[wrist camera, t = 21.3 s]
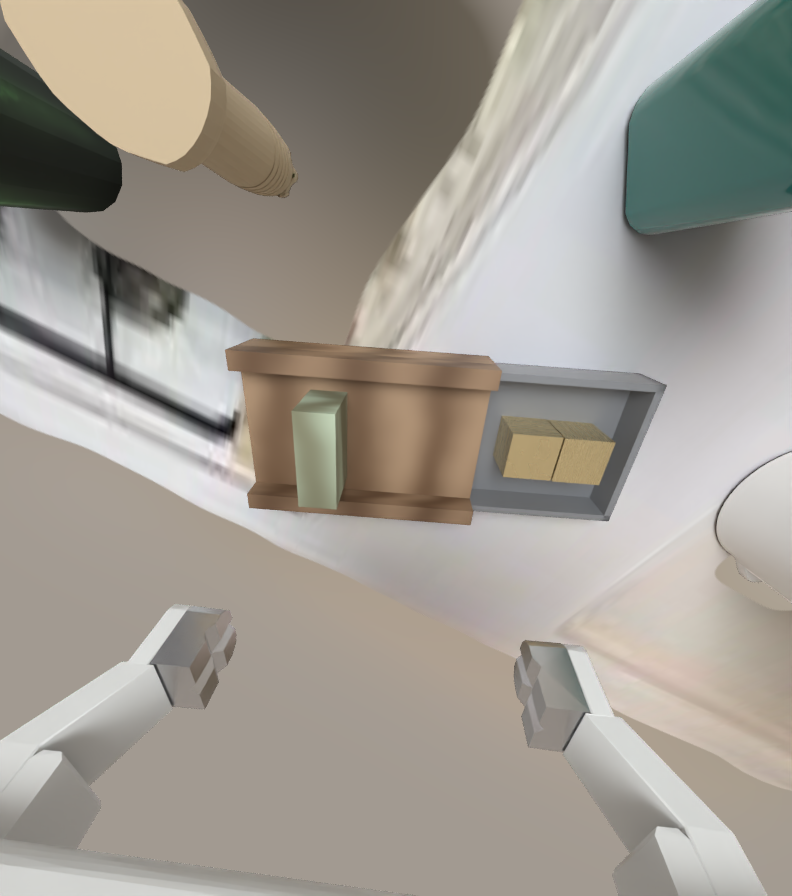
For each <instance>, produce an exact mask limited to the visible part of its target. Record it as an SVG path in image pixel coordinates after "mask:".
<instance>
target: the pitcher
mask: <svg viewBox="0 0 792 896" xmlns="http://www.w3.org/2000/svg"><path fill="white" fill-rule="evenodd" d="M787 212H792V0H757V1H755V2H754V3H753V4H752V5H750V6H749V7H748V8H747V9H745V10H744V11H743V12H742V13H740V14H739V15H738V16H737V17H735V18H734V19H733V20H731V21H730V22H729V23H728V24H726V25H725V26H724V27H723V28H721V29H720V30H719V31H718V32H716V33H715V34H714V35H713V36H711V37H710V38H709V39H708V40H706V41H705V42H704V43H702V44H701V45H700V46H699V47H697V48H696V49H695V50H694V51H692V52H691V53H690V54H689V55H687V56H686V57H685V58H684V59H682V60H681V61H680V62H679V63H677V64H676V65H675V66H674V67H672V68H671V69H670V70H668V71H667V72H666V73H665V74H663V75H662V76H661V77H660V78H658V79H657V80H656V81H655V82H653V83H652V84H651V85H650V86H648V87H647V89H646V90H645V92H644V93H643V94H642V96H641V97H640V99H639V100H638V102H637V103H636V105H635V108H634V110H633V113H632V116H631V119H630V122H629V137H628V161H627V185H626V209H625V214H626V217H627V220H628V222H629V225H630V226H631V227H632V228H634V229H635V230H636V231H637V232H638V233H641V234H646V235H655V234H661V233H667V232H673V231H679V230H685V229H691V228H697V227H703V226H709V225H715V224H721V223H727V222H733V221H739V220H745V219H751V218H757V217H763V216H769V215H775V214H781V213H787Z"/></svg>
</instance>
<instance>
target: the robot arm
mask: <svg viewBox="0 0 792 896" xmlns="http://www.w3.org/2000/svg"><path fill="white" fill-rule="evenodd" d="M716 529H717V536H718V540H719V542H720V544H721V545H722V547H723V548H724V549H725V550H726V551H727V552H729V553H730V554H731V555H732V556H733V557H734V558H735V559H736V564H737V569H738V572H739V574H741V575H742V576H743V577H744V578H746V579H747V580H748V581H750V582H764V583H765V584H767V585H768V586H769V587H771V588H772V589H773V590H774V591H776V592H777V593H779V594H780V595H781V596H782V597H784V598H785V599H786V600H788V601H789V602H790V603H792V452H790V453H787V454H785V455H783V456H781V457H778V458H776V459H774V460H773V461H771V462H769V463H767V464H766V465H764V466H762V467H761V468H759V469H758V470H756V471H755V472H754V473H752V474H751V475H750V476H748V477H747V478H746V479H745V480H744V481H743V482H742V483H741V484H739V485H738V486H737V488H736V489H735V490H734V491H733V492H732V493H731V494H730V496H729V497H728V499H727V500H726V502H725V503H724V505H723V507H722V509H721V511H720V513H719V516H718V520H717V527H716ZM231 620H232V615H231V612H230V610H222V609H214V608H205V607H196V606H190V605H189V606H188V605H179V604H175V605H173V606H172V607H171V608H169V609H168V610H167V612H166V613H165V614H164V615H163V617H162V618H161V619H160V621H159V622H158V624H157V625H156V626H155V627H154V628H153V630H152V631H151V632H150V634H149V635H148V636H147V637H146V639H145V640H144V641H143V643H142V644H141V645H140V647H139V648H138V649H137V650H136V652H135V653H134V654H133V656H132V657H131V658H130V660H129V661H128V662H123V661H122V662H121V663H119V664H118V665H116V666H114V667H113V668H111V669H110V670H109V671H107V672H105V673H104V674H102V675H101V676H99V677H97V678H96V679H94V680H93V681H92V682H90V683H88V684H87V685H85V686H84V687H82V688H81V689H79V690H77V691H76V692H74V693H73V694H71V695H70V696H68V697H67V698H65V699H64V700H62V701H60V702H59V703H57V704H56V705H54V706H53V707H51V708H50V709H48V710H47V711H45V712H43V713H42V714H40V715H39V716H37V717H36V718H34V719H33V720H31V721H30V722H28V723H27V724H25V725H23V726H22V727H20V728H19V729H17V730H16V731H14V732H13V733H11V734H9V735H8V736H7V737H5V738H3V739H2V740H0V896H416V895H408V894H401V893H394V892H387V891H379V890H372V889H365V888H358V887H350V886H343V885H336V884H328V883H321V882H313V881H307V880H299V879H292V878H284V877H277V876H270V875H263V874H256V873H248V872H241V871H234V870H227V869H219V868H212V867H205V866H197V865H190V864H182V863H176V862H168V861H161V860H154V859H146V858H139V857H131V856H124V855H117V854H110V853H102V852H96V851H88V850H81V849H77V847H78V846H79V844H80V843H81V841H82V839H83V838H84V836H85V834H86V832H87V831H88V829H89V827H90V826H91V824H92V822H93V821H94V819H95V817H96V815H97V814H98V812H99V811H100V809H101V801H100V799H99V798H98V797H97V795H96V794H95V793H94V792H93V791H92V789H91V788H90V787H89V786H90V785H91V784H92V783H93V782H94V781H95V780H96V779H97V778H99V777H100V776H101V775H102V774H103V773H104V772H105V771H106V770H107V769H108V768H109V767H111V765H113V764H114V763H115V762H116V761H117V760H118V759H119V758H120V757H121V756H122V755H124V754H125V753H126V752H127V751H128V750H129V749H130V748H131V747H132V746H133V745H134V744H135V743H136V742H138V741H139V740H140V739H141V738H142V737H143V736H144V735H145V734H146V733H147V732H148V731H149V730H150V729H152V728H153V727H154V726H155V725H156V724H157V723H158V722H159V721H160V720H161V719H162V718H163V717H165V716H166V715H167V714H168V713H169V712H170V711H171V710H172V709H173V708H172V707H182V708H194V709H205V708H206V706H207V704H208V702H209V700H210V698H211V696H212V694H213V693H214V690H215V688H216V687H217V684H218V683H219V680H218V672H219V671H220V670H222V669H223V668H224V667H226V666H227V665H228V662H229V661H230V659H231V657H232V654H233V651H234V648H235V644H236V631H235V628H234V627H232V625H230V622H231ZM520 650H521V654H522V655H521V656H520V657H518V658H517V659H516V662H515V666H514V682H515V689H516V693H517V697H518V699H519V700H520V701H521V703H522V704H523V705H524V706H525V709H524V711H523V714H522V716H521V717H522V721H523V726H524V730H525V735H526V739H527V744H528V747H530V748H537V749H544V750H550V751H557V752H564V753H563V755H564V757H565V759H566V760H567V761H568V763H569V764H570V766H571V767H572V769H573V770H574V772H575V773H576V775H577V776H578V778H579V779H580V781H581V782H582V783H583V785H584V786H585V788H586V789H587V791H588V792H589V794H590V795H591V797H592V798H593V800H594V801H595V803H596V804H597V806H598V807H599V809H600V810H601V812H602V813H603V814H604V816H605V817H606V819H607V820H608V822H609V823H610V825H611V826H612V828H613V829H614V831H615V832H616V834H617V835H618V837H619V838H620V840H621V841H622V842H623V844H624V845H625V847H626V848H627V850H628V851H629V853H630V854H629V855H628V856H627V857H626V858H625V859H624V860H623V861H622V862H621V863H620V864H619V865H618V866H617V867H616V868H615V870H614V873H613V875H612V876H613V879H614V883H615V886H616V889H617V893H618V896H768V895H767V894H766V892H765V890H764V888H763V886H762V885H761V883H760V881H759V879H758V877H757V875H756V873H755V872H754V870H753V868H752V866H751V864H750V863H749V861H748V859H747V857H746V855H745V853H744V852H743V850H742V848H741V846H740V844H739V843H738V841H737V839H736V837H735V835H734V834H733V833H732V832H731V831H730V829H728V827H727V826H726V825H725V824H724V823H723V822H722V821H721V820H720V819H719V818H718V817H717V816H716V815H715V814H714V813H713V812H712V811H711V810H710V809H709V808H708V807H707V806H706V805H705V804H704V803H703V802H702V801H701V799H700V798H699V797H698V796H697V795H696V794H695V793H694V792H693V791H692V790H691V789H690V788H689V787H688V786H687V785H686V784H685V783H684V782H683V781H682V780H681V779H680V778H679V777H678V776H677V775H676V774H675V773H674V772H673V771H672V769H671V768H670V767H669V766H668V765H667V764H666V763H665V762H664V761H663V760H662V759H661V758H660V757H659V756H658V755H657V754H656V753H655V752H654V751H653V750H652V749H651V748H650V747H649V746H648V745H647V744H646V743H645V742H644V740H643V739H642V738H641V737H639V735H638V734H637V733H636V732H635V731H634V730H633V729H632V728H631V727H630V726H629V725H628V724H627V723H626V722H625V721H624V720H623V719H622V718H621V717H616V716H614V713H613V711H612V709H611V706H610V704H609V702H608V700H607V697H606V695H605V693H604V690H603V688H602V686H601V683H600V681H599V679H598V676H597V674H596V672H595V670H594V667H593V665H592V663H591V660H590V658H589V656H588V653H587V651H586V650H585V649H584V648H583V647H582V646H578V645H566V644H561V643H551V642H539V641H527V640H525V641H523V642H522V644H521V647H520Z"/></svg>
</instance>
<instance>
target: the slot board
mask: <svg viewBox="0 0 792 896" xmlns="http://www.w3.org/2000/svg"><path fill="white" fill-rule="evenodd" d="M225 353H226V359H227V366H228V371H241V374H242V381H243V389H244V396H245V403H246V411H247V418H248V425H249V433H250V440H251V447H252V454H253V462H254V469H255V476H256V483H255V484H254V486H253V487H252V488H251V490H250V491H249V492H248V494H247V496H248V503H249V508H257V509H270V510H283V511H296V512H309V513H321V514H334V515H347V516H360V517H373V518H385V519H398V520H411V521H424V522H437V523H450V524H462V525H471V520H472V515H473V509H472V505H471V501H470V495H471V490H472V485H473V479H474V474H475V469H476V464H477V459H478V454H479V449H480V444H481V439H482V434H483V429H484V423H485V418H486V413H487V408H488V403H489V398H490V393H491V391H498V389H499V384H500V379H501V374H502V370H501V369H500V368H499V367H498V366H497V365H496V364H495V363H494V362H493V361H492V360H491V359H490V357H489V356H479V355H466V354H452V353H439V352H426V351H412V350H399V349H386V348H372V347H359V346H346V345H332V344H319V343H305V342H293V341H279V340H266V339H251V340H248V341H246V342H244V343H241V344H239V345H236V346H234V347H231V348H229V349H226V350H225ZM310 389H311V390H324V391H338V392H347V478H346V481H345V485H344V488H343V491H342V494H341V497H340V500H339V503H338V506H337V510H336V509H323V508H310V507H299V506H298V492H297V479H296V466H295V452H294V439H293V425H292V412H291V411H292V410H293V409H294V408H295V406H296V405H297V404H298V403H299V402H300V401H301V400H302V399H303V397H304V396H305V395H306V394H307V393H308V392H309V391H310Z"/></svg>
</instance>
